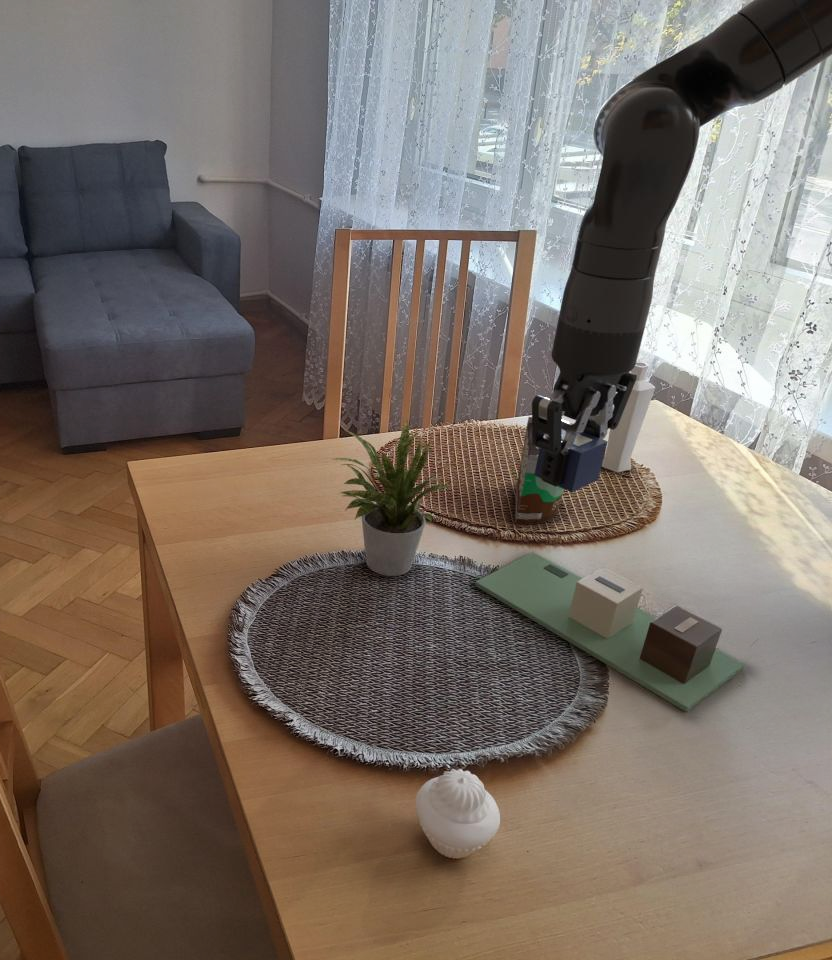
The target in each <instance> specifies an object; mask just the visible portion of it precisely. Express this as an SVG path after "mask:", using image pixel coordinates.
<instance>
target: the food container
mask: <svg viewBox="0 0 832 960" xmlns="http://www.w3.org/2000/svg"><path fill="white" fill-rule="evenodd" d="M545 435H546V433H544V436H545ZM523 440H524V441H523V447H522V452H521V458H520V463H519V469H518V474H517V480H516V486H515V523H514V524H519V525H538V524H543V523H547V522H549V521H551V520H552V519H554V518H555V517H556V515H557V514H558V512H559V508H560V504H561V501H562V498H563V495H564V492H565V489H563V488H561V487H559V486H557V487H555V486H553V485H551V484H548V483H546V482H544V481H543V480H542V479H541V478H539V477H537V476H535V475H534V474H535V469H536V464H537V459H538V454H539V449H540V448H538V447H536V446H533V445H532V416H528V418H527V422H526V427H525V434H524V439H523Z"/></svg>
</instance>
